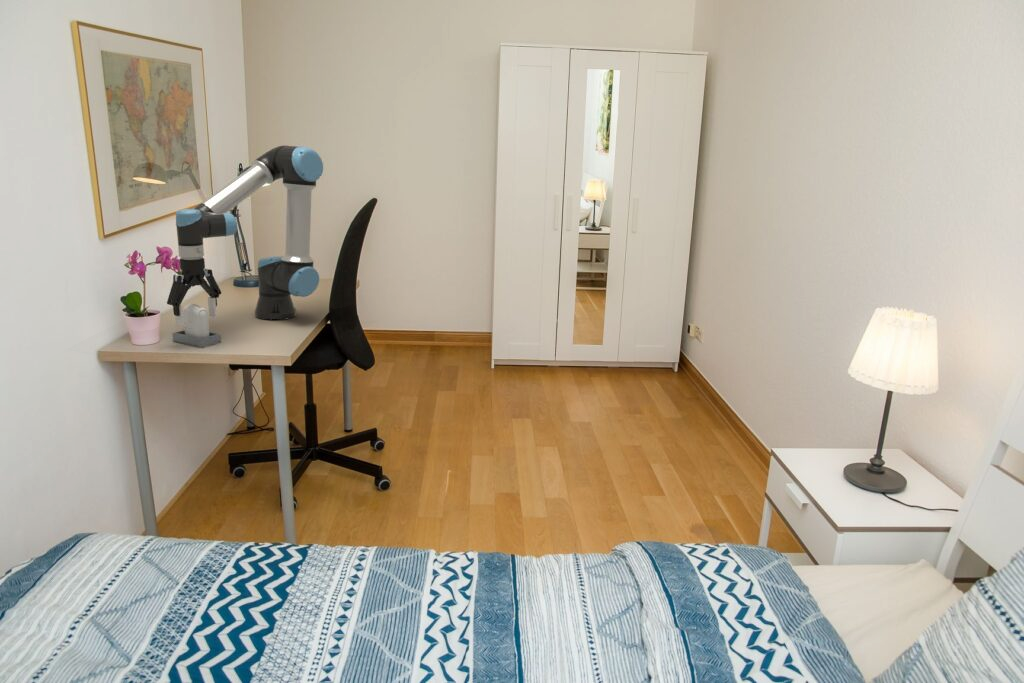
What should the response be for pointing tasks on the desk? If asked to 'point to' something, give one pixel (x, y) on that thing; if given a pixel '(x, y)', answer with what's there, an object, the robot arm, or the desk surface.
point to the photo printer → (196, 321)
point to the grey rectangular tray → (196, 339)
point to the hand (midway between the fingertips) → (196, 320)
